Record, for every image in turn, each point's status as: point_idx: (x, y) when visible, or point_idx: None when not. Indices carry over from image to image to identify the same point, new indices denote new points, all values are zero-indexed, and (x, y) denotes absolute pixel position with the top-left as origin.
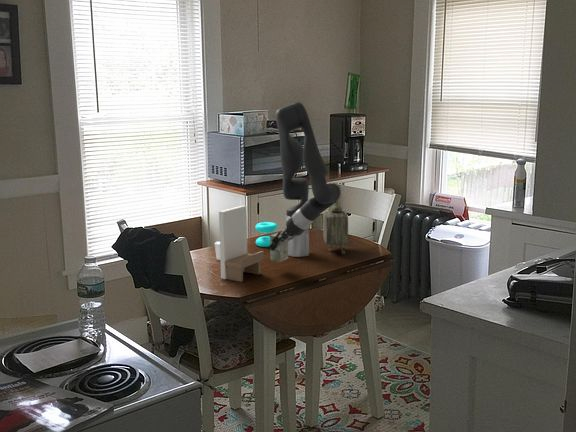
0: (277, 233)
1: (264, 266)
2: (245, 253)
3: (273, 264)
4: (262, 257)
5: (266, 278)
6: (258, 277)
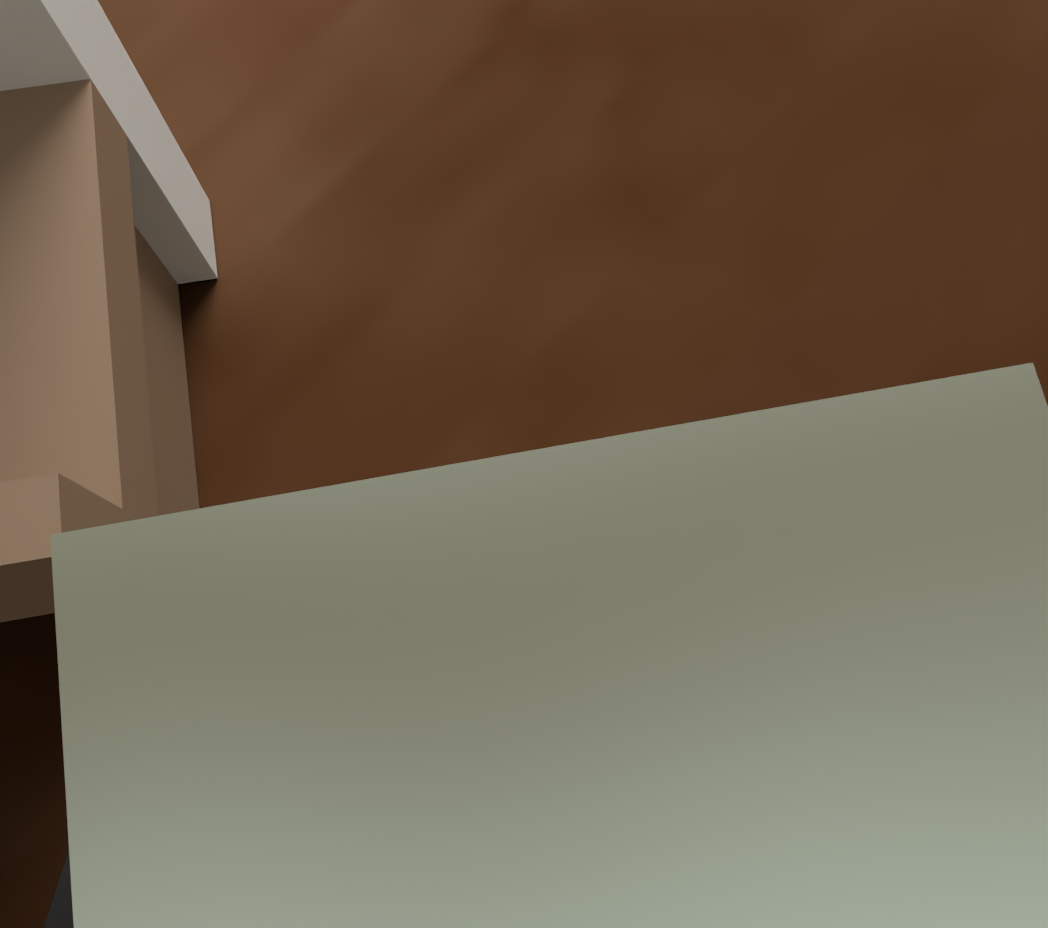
0: (805, 530)
1: (582, 320)
2: (9, 82)
3: (780, 347)
4: None
5: (43, 899)
6: (3, 730)
